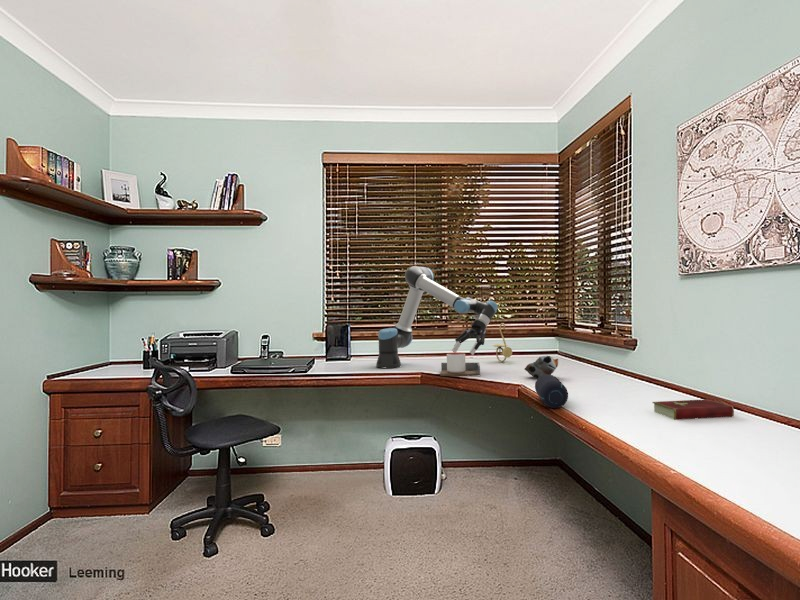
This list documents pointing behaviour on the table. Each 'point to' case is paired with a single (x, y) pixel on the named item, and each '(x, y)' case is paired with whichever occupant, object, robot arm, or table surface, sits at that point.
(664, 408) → the hardcover book
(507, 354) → the wall sconce
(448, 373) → the pen base
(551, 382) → the portable speaker
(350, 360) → the table surface
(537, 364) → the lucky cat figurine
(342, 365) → the table surface
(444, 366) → the pen walls
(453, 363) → the cup
